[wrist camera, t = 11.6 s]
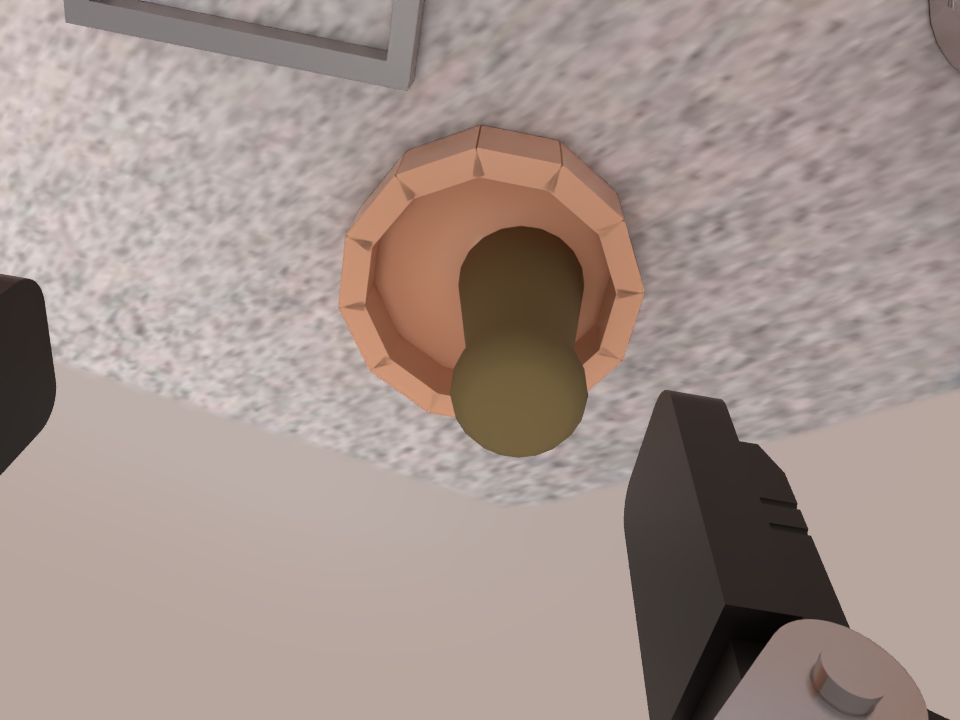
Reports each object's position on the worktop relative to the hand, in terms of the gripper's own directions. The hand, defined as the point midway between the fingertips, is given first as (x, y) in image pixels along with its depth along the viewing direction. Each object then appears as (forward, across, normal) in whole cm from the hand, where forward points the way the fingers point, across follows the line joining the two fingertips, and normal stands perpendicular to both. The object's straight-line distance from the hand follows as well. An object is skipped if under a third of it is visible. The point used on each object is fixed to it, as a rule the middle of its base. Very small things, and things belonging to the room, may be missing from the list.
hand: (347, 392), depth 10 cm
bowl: (+27, -2, +10) cm, 29 cm away
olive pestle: (+26, -4, +10) cm, 28 cm away
